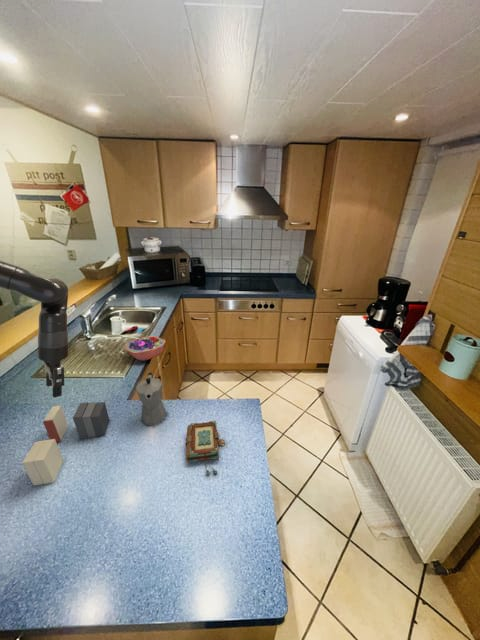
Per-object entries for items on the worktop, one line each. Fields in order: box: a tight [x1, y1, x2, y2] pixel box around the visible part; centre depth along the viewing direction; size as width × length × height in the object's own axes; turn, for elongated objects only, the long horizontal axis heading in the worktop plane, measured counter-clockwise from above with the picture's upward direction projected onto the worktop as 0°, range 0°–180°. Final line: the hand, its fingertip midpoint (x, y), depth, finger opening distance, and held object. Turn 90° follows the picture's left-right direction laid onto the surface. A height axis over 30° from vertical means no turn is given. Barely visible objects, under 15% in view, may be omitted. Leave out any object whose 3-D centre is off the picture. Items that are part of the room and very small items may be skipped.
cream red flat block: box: [42, 405, 69, 444], centre depth 87 cm, size 3×7×10 cm, turn 12°
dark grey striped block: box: [72, 401, 110, 440], centre depth 90 cm, size 8×7×10 cm
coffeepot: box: [135, 372, 167, 426], centre depth 95 cm, size 15×9×18 cm, turn 16°
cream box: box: [21, 438, 64, 486], centre depth 75 cm, size 5×7×10 cm
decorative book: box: [185, 420, 226, 476], centre depth 84 cm, size 13×18×5 cm
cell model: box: [125, 335, 166, 362], centre depth 134 cm, size 17×20×11 cm
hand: (53, 390), depth 81 cm, fingers open, 8 cm apart
